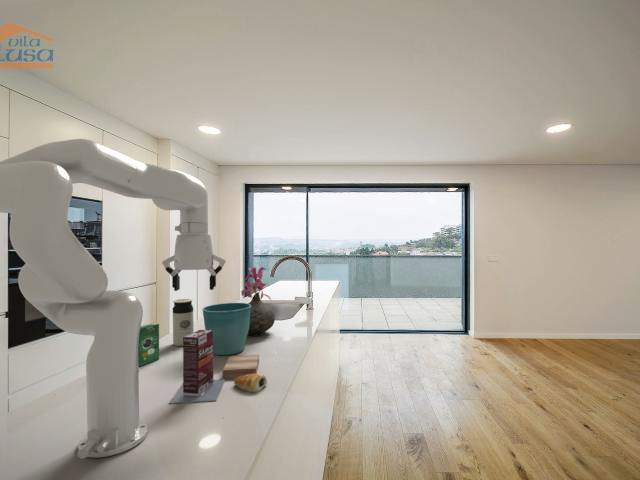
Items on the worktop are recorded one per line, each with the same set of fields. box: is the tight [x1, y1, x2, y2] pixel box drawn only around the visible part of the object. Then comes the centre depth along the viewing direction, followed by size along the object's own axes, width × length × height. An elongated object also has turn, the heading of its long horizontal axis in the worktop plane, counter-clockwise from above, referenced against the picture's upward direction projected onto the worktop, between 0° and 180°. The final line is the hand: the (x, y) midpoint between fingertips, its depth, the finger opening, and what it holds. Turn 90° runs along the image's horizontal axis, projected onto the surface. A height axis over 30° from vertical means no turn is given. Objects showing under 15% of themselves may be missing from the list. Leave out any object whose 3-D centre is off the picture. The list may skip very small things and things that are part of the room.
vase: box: [240, 266, 276, 336], centre depth 159 cm, size 17×17×30 cm
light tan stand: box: [222, 354, 260, 379], centre depth 114 cm, size 13×10×2 cm
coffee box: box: [138, 322, 160, 367], centre depth 123 cm, size 8×3×13 cm, turn 156°
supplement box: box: [182, 329, 214, 397], centre depth 99 cm, size 9×5×16 cm, turn 168°
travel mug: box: [172, 298, 195, 347], centre depth 146 cm, size 8×8×18 cm
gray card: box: [168, 378, 226, 405], centre depth 99 cm, size 14×12×1 cm
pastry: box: [233, 374, 268, 393], centre depth 101 cm, size 9×7×4 cm
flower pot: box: [201, 302, 251, 356], centre depth 135 cm, size 18×18×17 cm
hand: (194, 289), depth 101 cm, fingers open, 9 cm apart
